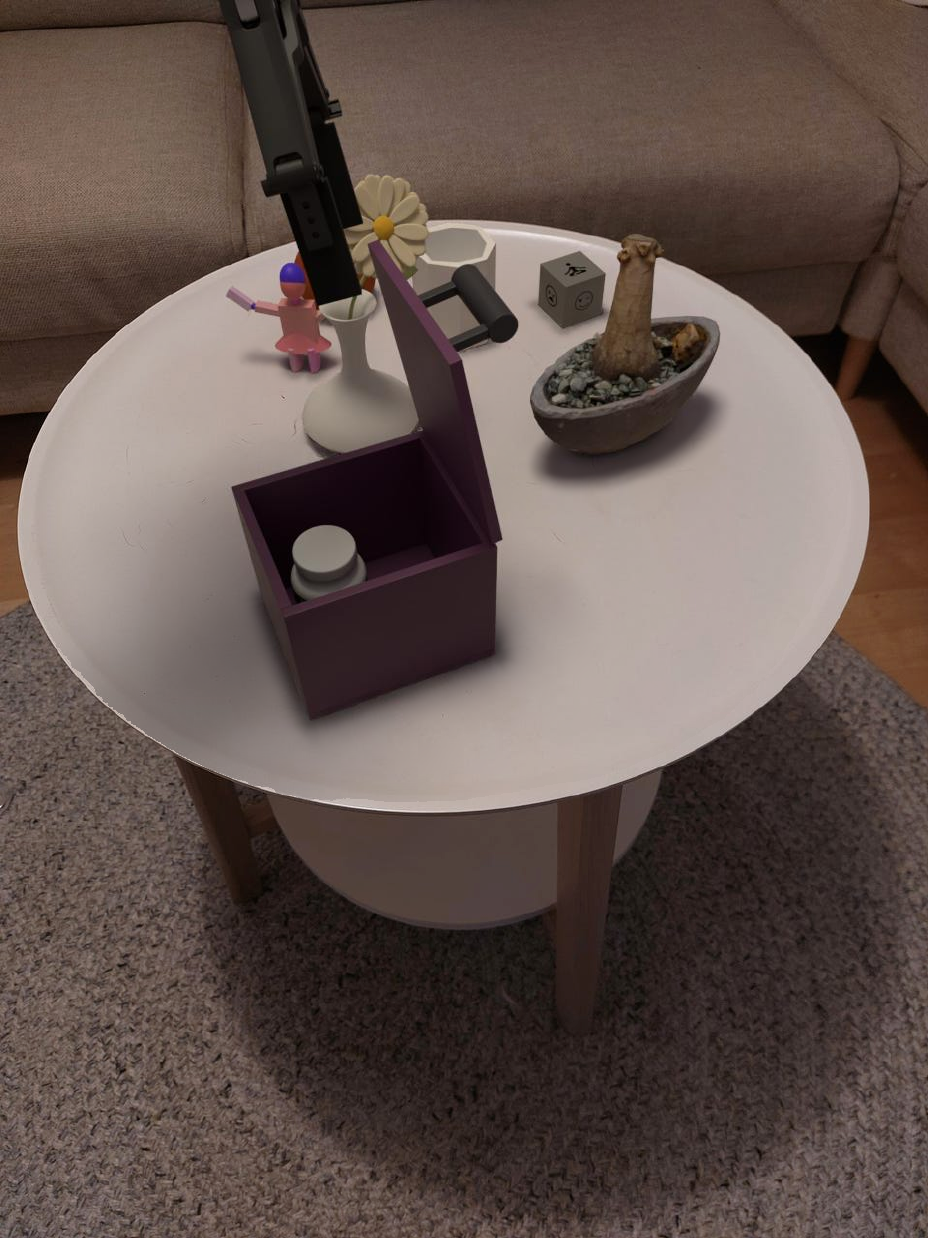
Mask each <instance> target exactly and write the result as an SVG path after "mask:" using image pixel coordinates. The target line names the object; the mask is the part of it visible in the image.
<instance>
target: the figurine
mask: <svg viewBox="0 0 928 1238" xmlns="http://www.w3.org/2000/svg"><path fill="white" fill-rule="evenodd" d="M279 287H280V290H281V293H282V294H283V296H284V297H280V299H279V302H278V303H273V302H269V301H263V300H259V299H257V300H256V301H255V300H254V299H252V298H250V297H249V296H248V295H246V294H245V293H243V292H242V291H241V290H240V289H238V288H236V287H235V286H234V285H232V286H231V287H230V288H228V290H227V292H226V295H225V297H226V298H228V299H229V300H231V301H232V302H233V303H235V304H236V305H238V306H239V307H241V308H242V309H243V310H245V311H246V312H250V311H251V310H252V311H254V313H259V314H263V315H268V316H271V317H272V316H273V317H278V318H279V321H280V327H281V330H282V337H280V338H279V339H278V340H277V341H276V343H275V344H274V348H275V349H276V350H277V351H278V352H279V351H280V352H282V353H284V354H288V357H289V358H288V360H289V364H290V369H291V371H292V372H293V373H297V372H299V371H300V370H301V369H302V368H303V366H304V358H303V355H307V357H308V363H309V369H310V372H311V373H312V374H315V373H318V371H319V370H320V367H321V363H322V362H321V360H322V359H321V356H320V353H321V352H322V353H323V352H324V351H327V350H329V349H330V348H331V347H332V342H331V341H330V340H328V339H327V338H326V337H324V336H323V335H321V329H320V325H319V324H320V323H321V322H322V321H323V320H325V319H327V318H326V317H325V316H324V315H323V314H322V313H321V311H320V309H319V310H316V306H315V300H308V299H303V298H302V295H303V294H304V291H305V275H304V272H303V270H302V269H301V268H300V267H299V266H298V265H297V264H295V263H294V262H288V263H285V264H284V265H282V267H281V269H280V271H279Z"/></svg>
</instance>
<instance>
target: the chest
mask: <svg viewBox="0 0 928 1238" xmlns="http://www.w3.org/2000/svg"><path fill="white" fill-rule="evenodd" d="M230 488H231V491H232V495H233V500H234V503H235V506H236V510H237V513H238V517H239V521H240V524H241V527H242V531H243V535H244V539H245V542H246V546H247V549H248V553H249V557H250V561H251V564H252V567H253V572H254V574H255V578H256V582H257V585H258V589H259V593H260V596H261V598H262V601H263V604H264V607H265V609H266V612H267V614H268V616H269V619H270V622H271V624H272V627H273V629H274V631H275V634H276V637H277V639H278V642H279V644H280V647H281V649H282V652H283V655H284V657H285V660H286V663H287V665H288V667H289V670H290V672H291V675H292V677H293V680H294V682H295V686H296V688H297V690H298V693H299V695H300V698H301V700H302V703H303V705H304V708H305V710H306V714H307V716H308V718H309V720H310V721H314V720H315V719H319V718H322V717H324V716H327V715H329V714H332V713H336V712H338V711H340V710H344V709H346V708H349V707H351V706H354V705H357V704H360V703H363V702H365V701H368V700H371V699H374V698H377V697H380V696H383V695H385V694H388V693H390V692H394V691H396V690H398V689H402V688H404V687H407V686H410V685H413V684H415V683H418V682H421V681H424V680H427V679H429V678H432V677H435V676H438V675H440V674H443V673H446V672H449V671H452V670H455V669H457V668H460V667H464V666H465V665H468V664H472V663H474V662H477V661H480V660H482V659H485V658H489V657H490V656H493V655H495V654H496V636H497V590H498V589H497V587H498V586H497V585H498V584H497V582H498V545H497V544H496V543H495V544H492V542H491V541H490V539H489V537H488V536H487V534H486V533H485V531H484V529H483V528H482V526H481V524H480V523H479V521H478V519H477V518H476V516H475V515H474V513H473V511H472V510H471V508H470V506H469V505H468V503H467V501H466V500H465V498H464V497H463V495H462V493H461V492H460V490H459V488H458V487H457V485H456V483H455V482H454V480H453V479H452V477H451V475H450V474H449V472H448V470H447V469H446V467H445V465H444V464H443V462H442V461H441V459H440V457H439V456H438V454H437V452H436V451H435V449H434V447H433V446H432V444H431V443H430V441H429V439H428V438H427V436H426V434H425V433H424V431H423V429H421V430H418V431H415V432H411V433H410V434H408V435H405V436H401V437H398V438H394V439H391V440H388V441H384V442H381V443H377V444H374V445H371V446H367V447H364V448H360V449H357V450H354V451H350V452H347V453H343V454H342V453H339V454H337V455H333V456H330V457H326V458H324V459H320V460H317V461H313V462H310V463H306V464H303V465H299V466H296V467H293V468H289V469H286V470H282V471H279V472H276V473H273V474H272V473H271V474H268V475H266V476H262V477H259V478H255V479H252V480H249V481H245V482H242V483H239V484H235V485H232V486H231V487H230ZM322 525H331V526H337V527H340V528H342V529H344V530H346V531H347V532H349V533H350V534H351V536H352V537H353V539H354V541H355V544H356V549H357V553H358V554H359V556H360V557H361V558H362V560H363V562H364V564H365V567H366V570H367V578H368V581H366V582H363V583H360V584H357V585H353V586H350V587H347V588H344V589H341V590H338V591H335V592H332V593H329V594H326V595H323V596H320V597H317V598H314V599H311V600H308V601H305V602H302V603H299V604H296V601H295V597H294V593H293V588H292V585H291V571H292V568H293V565H294V560H293V554H292V550H293V545H294V543H295V541H296V540H297V538H298V537H299V536H300V535H301V534H302V533H304V532H305V531H307V530H309V529H311V528H313V527H317V526H322Z"/></svg>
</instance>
